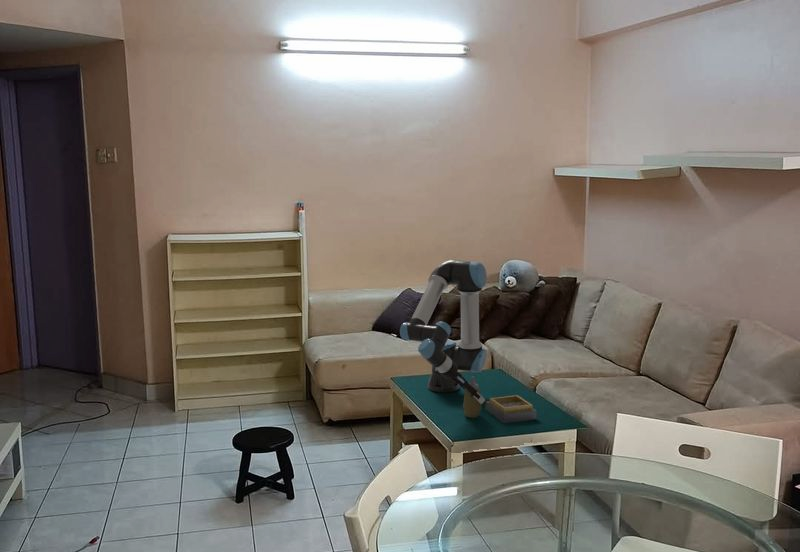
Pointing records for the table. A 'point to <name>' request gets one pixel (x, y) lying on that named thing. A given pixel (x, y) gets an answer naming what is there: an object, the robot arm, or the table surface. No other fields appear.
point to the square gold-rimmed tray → (510, 409)
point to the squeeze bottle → (471, 401)
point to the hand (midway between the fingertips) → (479, 399)
